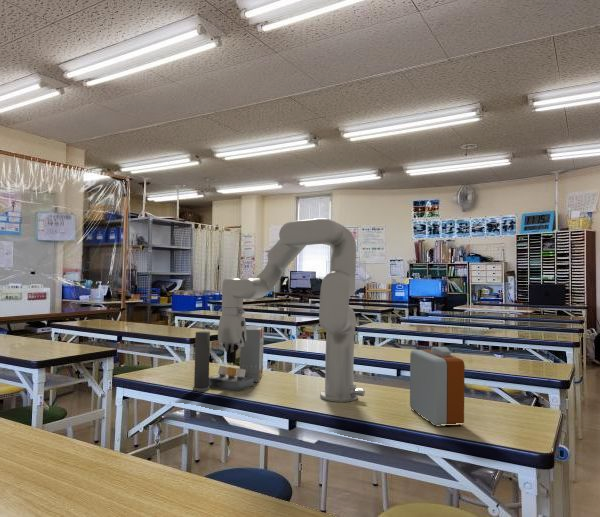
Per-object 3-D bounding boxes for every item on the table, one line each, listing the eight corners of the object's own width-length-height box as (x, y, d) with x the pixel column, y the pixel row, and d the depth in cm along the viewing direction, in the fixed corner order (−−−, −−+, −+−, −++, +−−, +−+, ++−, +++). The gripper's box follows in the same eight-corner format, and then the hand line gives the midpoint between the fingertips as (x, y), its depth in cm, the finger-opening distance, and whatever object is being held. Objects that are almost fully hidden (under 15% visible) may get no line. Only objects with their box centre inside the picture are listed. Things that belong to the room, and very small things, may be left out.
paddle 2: (235, 378, 171) (237, 368, 172) (230, 377, 168) (232, 367, 169) (231, 377, 171) (233, 368, 173) (226, 376, 169) (228, 366, 170)
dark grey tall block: (212, 388, 166) (214, 332, 166) (202, 391, 161) (203, 333, 161) (200, 386, 168) (201, 330, 169) (189, 389, 163) (191, 332, 164)
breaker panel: (253, 386, 170) (253, 377, 170) (238, 391, 162) (239, 382, 162) (222, 381, 177) (222, 372, 177) (207, 386, 169) (207, 377, 169)
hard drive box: (259, 383, 175) (260, 329, 176) (238, 382, 176) (240, 329, 176) (263, 374, 191) (264, 325, 192) (244, 373, 191) (245, 325, 192)
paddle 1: (243, 379, 169) (245, 370, 170) (239, 378, 166) (241, 368, 167) (239, 379, 170) (241, 369, 171) (235, 378, 167) (237, 368, 168)
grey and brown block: (465, 427, 128) (465, 352, 129) (435, 428, 127) (436, 352, 128) (435, 407, 147) (435, 342, 147) (408, 408, 145) (409, 342, 146)
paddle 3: (226, 377, 173) (228, 367, 174) (221, 375, 170) (223, 366, 171) (222, 376, 173) (224, 367, 174) (217, 375, 171) (219, 365, 172)
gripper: (254, 312, 170) (253, 363, 170) (222, 310, 177) (221, 358, 177) (242, 314, 164) (241, 366, 163) (209, 311, 171) (208, 361, 170)
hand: (231, 362), depth 170 cm, fingers closed
